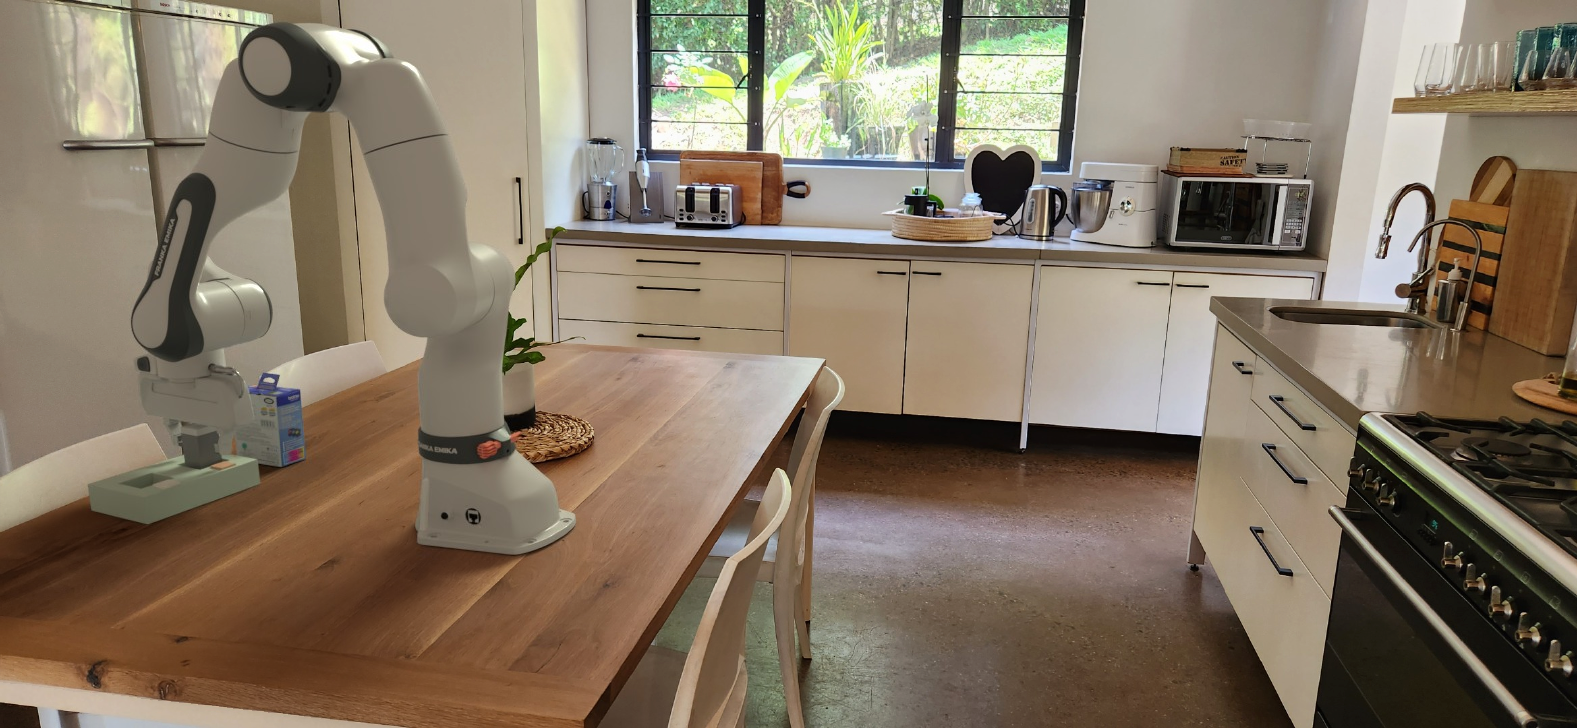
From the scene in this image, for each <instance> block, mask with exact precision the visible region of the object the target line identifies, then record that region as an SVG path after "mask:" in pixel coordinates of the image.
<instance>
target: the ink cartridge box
mask: <svg viewBox="0 0 1577 728" xmlns="http://www.w3.org/2000/svg"><path fill="white" fill-rule="evenodd" d="M280 376H281V374H277V373H268V372H262V374H261V375H260V379H259V381H258V384H251V385H247V387H248V390H249V394H250V398H251V403H252V408H253V413H254V420H253V422H252V424H251V425H250V426H247V427H244V428H241V429H237V430H236V433H235V435H234V442H235V452H236V454H235V455H237V456H242V457H247V458H252V459H257V460H258V465H260V464H261V465H267V466H271V467H279V468H283V467H285V466H286V467H287V466H289V465H291V464H295V463H299V462H301V461H304V460H307V454H306V442H305V432H304V431H305V430H304V419H303V418H304V417H303V407H302V397H301V394H302V393H301V389H299V388H293V387H292V388H291V387H283V386H278V384H279V380H280ZM268 378H271V379H272V380H274V381H273V382H269V381H264V380H265V379H268Z"/></svg>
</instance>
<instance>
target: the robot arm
mask: <svg viewBox="0 0 1577 728" xmlns="http://www.w3.org/2000/svg"><path fill="white" fill-rule="evenodd" d="M212 103H213V104H212V108H211V112H210V116H209V117H210V119H209V122H208V124H209V125H208V130H207V135H206V136H207V137H206V140H205V144H204V146H203V148H202V152H201V154H200V156H199V158H198V160H197V162H196V164H195V165H194V166H193V168H192V170H191V171H190V173H189V174H188V175H187V176H186V177H185V178H184V179H182V181H180V182H179V184H178V185H177V187H176V189H175V191H174V193H173V196H172V199H171V201H170V204H169V206H168V209H167V213H166V216H165V220H164V222H163V226H162V230H161V233H160V236H159V240H158V243H157V247H156V251H155V253H154V256H153V259H152V261H150V263H149V265H148V269H147V275H146V276H147V277H146V282H145V284H144V286H143V288H142V289H141V292H140V293H139V295H138V297H137V299H136V301H135V303H134V305H133V309H132V312H131V315H130V328H131V332H132V335H133V337H134V339H135V341H136V342H137V344H139V346H140V347H142V348H143V349H144V350H145V351H146V352H147V353H143V354H141V355H139V356H135V357H134V359H133V366H134V369H135V371H136V372H139V373H138V374H137V388H138V394H139V400H140V405H141V408H142V409H143V411H144V412H145V413H146V415H147V416H153V417H158V418H162V421H163V425H164V427H165V429H166V430H167V432H168V433H169V435H170V438H171V444H172V446H176V447H181V448H183V444H182V436H181V428H180V427H181V426H183V425H182V422H185V423H189V424H192V423H195V424H200V425H206V426H211V427H216V429H217V434H219V440H218V442H217V443H214V448H215V453H216V454H220V455H227V454H232V452H233V445H232V442H233V440H234V439H235V433H236V430H237V429H241V428H244V427H247V426H250V425H251V424H252V422H253V420H254V413H253V408H252V403H251V398H250V394H249V390H248V387H247V386H248V385H247V383H246V381H245V380H244V377H243V376H242V375H241V374H240V373H239V372H238V371H237V369H236V368H235V367H233V366H227V364H226V363H227V362H226V357H225V356H226V355H225V349H226V348H230V347H233V346H236V345H242V344H247V343H249V342H253V341H255V340H257V339H261V338H262V337H264V336H266V334H267V333H268V331H269V330H270V328H271V326H272V322H273V318H274V314H273V313H274V312H273V305H272V301H271V298H270V296H269V293H268V292H267V291H266V290H265V288H263V286H262V285H260V284H259V283H258V282H256V281H255V280H254V279H251V278H243V277H240V276H238V275H235V274H233V273H231V272H229V271H227V270H225V269H222V268H221V267H219V266H218V265H216V264H215V262H213V260H212V259H211V257H210V256H209V252H210V249H211V246H212V243H213V241H214V240H215V238H216V237H217V235H218V234H219V233H220V232H221V231H222V230H224V228H226V227H227V226H228V225H230V224H231V223H232V222H234V221H236V220H237V219H238V218H241V217H243V216H244V215H246V214H249V213H250V212H252V211H254V210H258V209H259V208H261V207H265V206H267V205H269V204H271V203H273V202H275V201H276V200H277V199H279V198H280V197H281V196H282V195H284V194H285V193H286V192H287V191H288V190H289V188H290V186H291V184H292V181H294V180H293V179H294V177H295V174H296V170H297V168H298V162H299V155H300V150H301V144H302V135H303V128H304V124H305V121H306V119H307V118H308V116H309V115H310V114H311V113H322V114H323V113H327V114H330V113H331V114H332V113H339V114H341V115H342V116H344V117H345V118H346V119H347V120H348V121H349V123H350V125H351V126H352V128H353V130H354V132H355V135H356V138H357V141H358V144H359V146H360V150H361V154H362V156H363V159H364V160H363V161H364V162H365V165H366V168H367V171H368V173H369V176H370V177H369V178H370V180H371V183H372V187H373V189H374V192H375V195H376V198H377V200H378V204H379V207H380V210H381V214H382V218H383V219H382V220H383V225H384V230H385V241H386V250H387V251H386V252H387V262H388V264H387V265H388V275H387V280H386V283H385V287H384V292H383V303H384V307H385V311H386V313H387V316H388V318H390V320H391V321H392V323H393V324H394V326H396V327H397V328H398V329H399V330H401V332H404V333H406V334H408V335H410V336H412V337H417V338H425V339H426V344H425V347H424V348H425V349H424V353H423V356H422V360H421V362H420V364H419V367H418V370H417V376H416V377H417V388H418V389H417V391H418V392H417V393H418V406H419V407H418V409H419V419H420V427H418V429H417V445H418V454H419V455H420V456H421V459H422V460H421V462H422V463H421V465H422V466H421V467H422V469H421V482H420V497H419V505H418V510H417V511H418V512H417V515H416V516H417V517H416V520H415V524H414V527H415V529H416V531H417V535H416V537H417V538H416V543H417V544H418V545H423V546H433V547H439V548H440V547H442V548H450V549H459V550H468V551H478V552H483V553H484V552H486V553H493V554H494V553H495V554H503V555H513V556H514V555H521V554H526V553H529V552H532V551H535V550H538V549H540V548H543V547H546V546H547V545H550V544H551V543H554V542H555V541H557V540H558V539H560V538H562V537H564V536H565V535H566V534H568V533H569V532H570V531H571V530H572V529H573V528H574V527H575V525H576V524H577V519H576V514H575V513H574V512H571V511H568V510H564V509H562V508H560V507H559V506H560V505H559V500H558V499H559V497H558V494H557V490H556V487H555V484H554V483H553V481H552V480H551V479H550V478H548V477H547V476H546V475H545V474H544V473H542V472H541V471H540V470H539V469H538V468H537V467H535V466H534V464H532V463H531V462H530V461H529V460H528V459H527V458H525V457H524V456H523V455H522V454H521V453H520V452H518V450H517V445H516V443H515V442H517V441H519V440H521V439H522V437H518V436H520V434H521V433H522V432H521V431H517V432H515V433H512V431H511V430H510V427H509V426H508V425H509V424H508V423H507V422H506V420H505V418H504V417H505V416H504V415H505V414H504V394H503V393H504V392H503V391H504V390H503V361H504V351H505V344H506V337H507V328H508V320H509V310H510V302H511V299H512V295H513V292H514V291H515V286H516V273H515V268H514V266H513V263H512V262H511V260H510V259H509V257H508V256H507V255H506V254H505V253H504V252H503V251H501V250H500V249H499V248H496V247H494V246H491V245H488V244H484V243H480V242H474V241H473V242H472V241H469V237H468V229H467V219H466V207H467V206H466V205H467V202H468V190H467V186H466V184H465V181H464V178H463V174H462V172H461V169H460V165H459V162H458V158H457V156H456V153H455V151H454V147H453V144H452V142H451V141H452V140H451V138H450V136H449V131H448V129H447V126H446V124H445V120H444V118H443V116H442V113H441V111H440V108H439V106H438V104H437V102H436V100H435V97H434V96H433V93H432V92H431V89H430V87H429V86H428V84H427V82H426V80H425V78H424V77H423V75H422V73H421V72H420V70H419V69H418V68H417V67H416V66H415V65H414V64H411V63H410V62H408V61H406V60H403V59H398V58H395V57H394V55H393V54H392V52H391V50H390V48H389V47H388V46H387V45H386V44H385V43H384V42H383V41H381V40H380V39H378V37H376V36H374V35H372V34H370V33H367V32H364V31H362V30H359V29H354V28H353V29H352V28H347V29H345V28H341V27H336V26H331V25H328V24H324V23H316V22H315V23H314V22H298V23H297V22H296V23H290V22H286V21H285V22H284V21H277V22H273V23H272V22H271V23H268V24H263V25H261V26H258V27H257V28H255V29H253V30H251V31H250V32H249V33H248V34H247V35H246V36H245V37H244V38H243V40H242V42H241V44H240V47H239V50H238V57H236V58H233V59H232V60H230V61H229V62H228V64H227V65H226V66H225V69H224V71H223V73H222V76H221V78H220V80H219V84H218V86H217V89H216V92H215V97H214V101H213V102H212Z"/></svg>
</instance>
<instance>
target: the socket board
mask: <svg viewBox="0 0 1577 728" xmlns="http://www.w3.org/2000/svg"><path fill="white" fill-rule="evenodd" d="M258 485H261V479H260V470H259V464H258V460H257V459H252V458H247V457H242V456H237V454H232V453H230V454H227V455H222V462H221V463H217V464H214V465H211V466H210V467H207V468H204V469H201V470H199V469H194V468H189V467H185V459H184V454H182V455H178V456H176V457H173V458H169V459H165V460H162V461H159V462H157V463H153V464H148V465H146V466H143V467H139V468H136V469H133V470H129V471H126V472H123V473H120V474H115V475H113V476H110V477H107V478H103V479H100V480H95V481H93V482H91V483H87V490H88V497H89V504H90V509H91V511H93V512H97V513H100V514H105V515H109V516H112V517H116V518H120V519H124V520H129V521H133V522H138V523H141V524H144V525H150V524H152V523H155V522H158V521H161V520H164V519H166V518H169V517H172V516H176V515H178V514H181V513H183V512H186V511H188V510H192V509H195V508H198V507H200V506H202V505H206V504H208V503H211V502H214V501H217V500H219V499H223V498H225V497H227V496H230V495H233V494H236V493H240V492H241V491H244V490H247V489H250V488H253V487H256V486H258Z"/></svg>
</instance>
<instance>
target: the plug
mask: <svg viewBox="0 0 1577 728" xmlns="http://www.w3.org/2000/svg"><path fill="white" fill-rule="evenodd" d="M180 428H181V436H182V444H183V446H182V451H183V455H184V459H185V467H189V468H194V469H199V470H201V469H204V468H207V467H210V466H211V465H214V464H217V463H221V462H222V455H220V454H216V453H215V448H214V443H217V442H218V440H219V436H220V434H217V429H216V427H211V426H206V425H200V424H195V423H189V424H185V425H182V426H181V427H180Z"/></svg>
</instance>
